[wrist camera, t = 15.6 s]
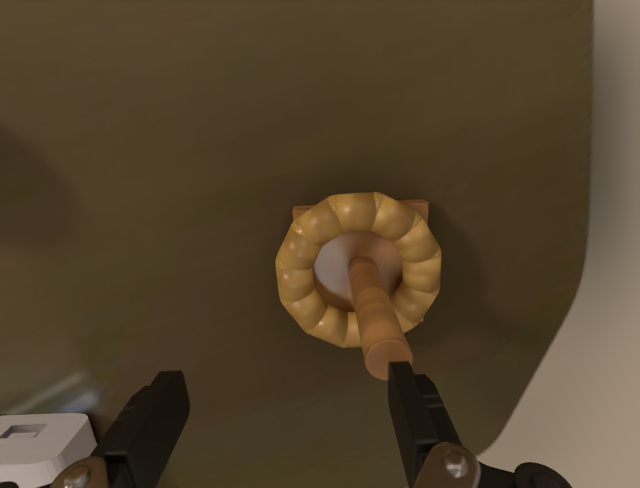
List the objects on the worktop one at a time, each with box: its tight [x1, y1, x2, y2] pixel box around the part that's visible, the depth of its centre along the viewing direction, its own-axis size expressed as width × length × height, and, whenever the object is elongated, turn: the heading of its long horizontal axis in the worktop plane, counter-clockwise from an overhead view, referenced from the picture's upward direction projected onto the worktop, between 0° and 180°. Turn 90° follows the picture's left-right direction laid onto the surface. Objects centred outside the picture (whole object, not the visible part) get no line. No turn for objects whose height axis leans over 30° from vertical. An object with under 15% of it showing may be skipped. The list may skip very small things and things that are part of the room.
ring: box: [275, 192, 441, 348], centre depth 22 cm, size 11×11×2 cm
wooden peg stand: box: [292, 199, 428, 380], centre depth 19 cm, size 9×9×11 cm
